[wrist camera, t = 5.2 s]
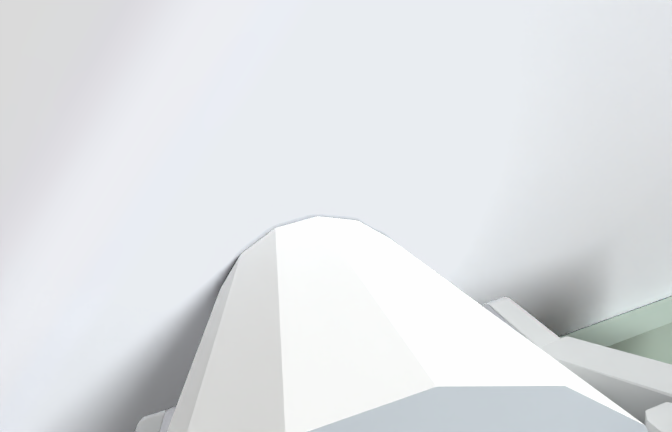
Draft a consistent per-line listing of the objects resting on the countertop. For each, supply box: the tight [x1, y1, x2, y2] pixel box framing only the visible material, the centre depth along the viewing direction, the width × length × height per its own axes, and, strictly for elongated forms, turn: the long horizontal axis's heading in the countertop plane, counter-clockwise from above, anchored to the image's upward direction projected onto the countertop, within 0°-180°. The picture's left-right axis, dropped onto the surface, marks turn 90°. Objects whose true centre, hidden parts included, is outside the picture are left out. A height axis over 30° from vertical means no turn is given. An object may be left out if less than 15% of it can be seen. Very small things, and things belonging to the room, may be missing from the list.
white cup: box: [167, 216, 648, 432], centre depth 8 cm, size 7×7×7 cm
